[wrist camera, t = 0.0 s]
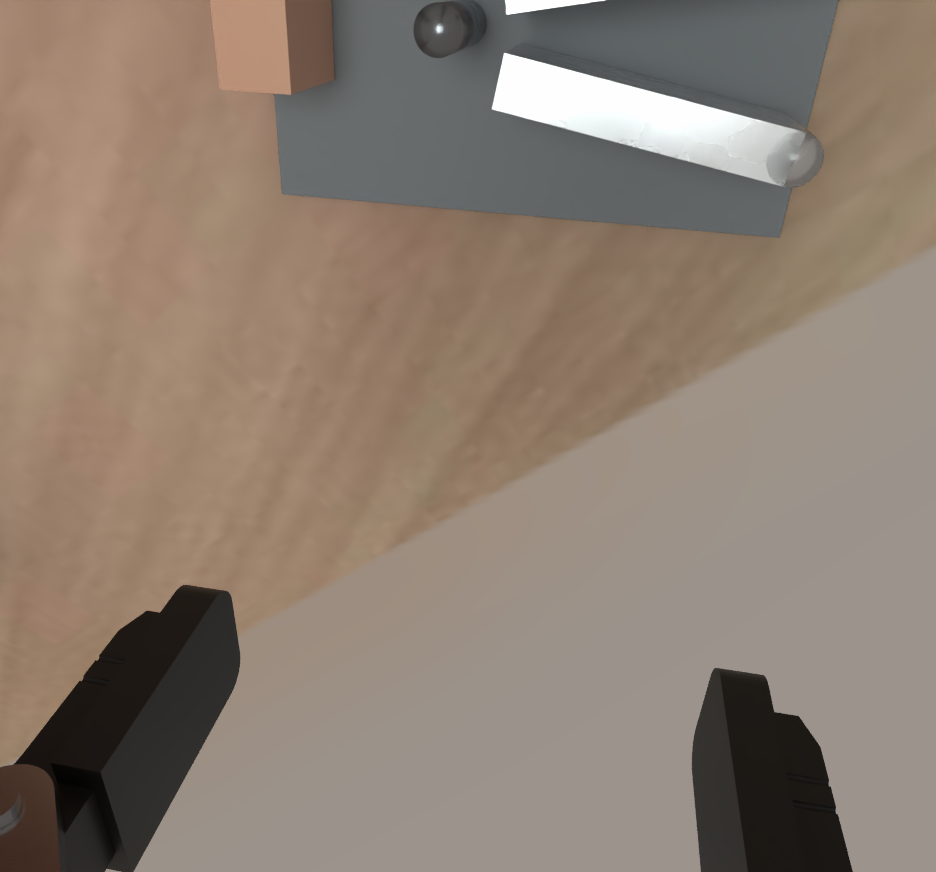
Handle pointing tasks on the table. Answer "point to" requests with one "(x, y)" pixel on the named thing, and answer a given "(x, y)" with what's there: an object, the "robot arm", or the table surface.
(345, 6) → the slate board
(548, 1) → the bar
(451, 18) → the post
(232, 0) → the block
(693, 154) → the jaw
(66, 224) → the table surface
